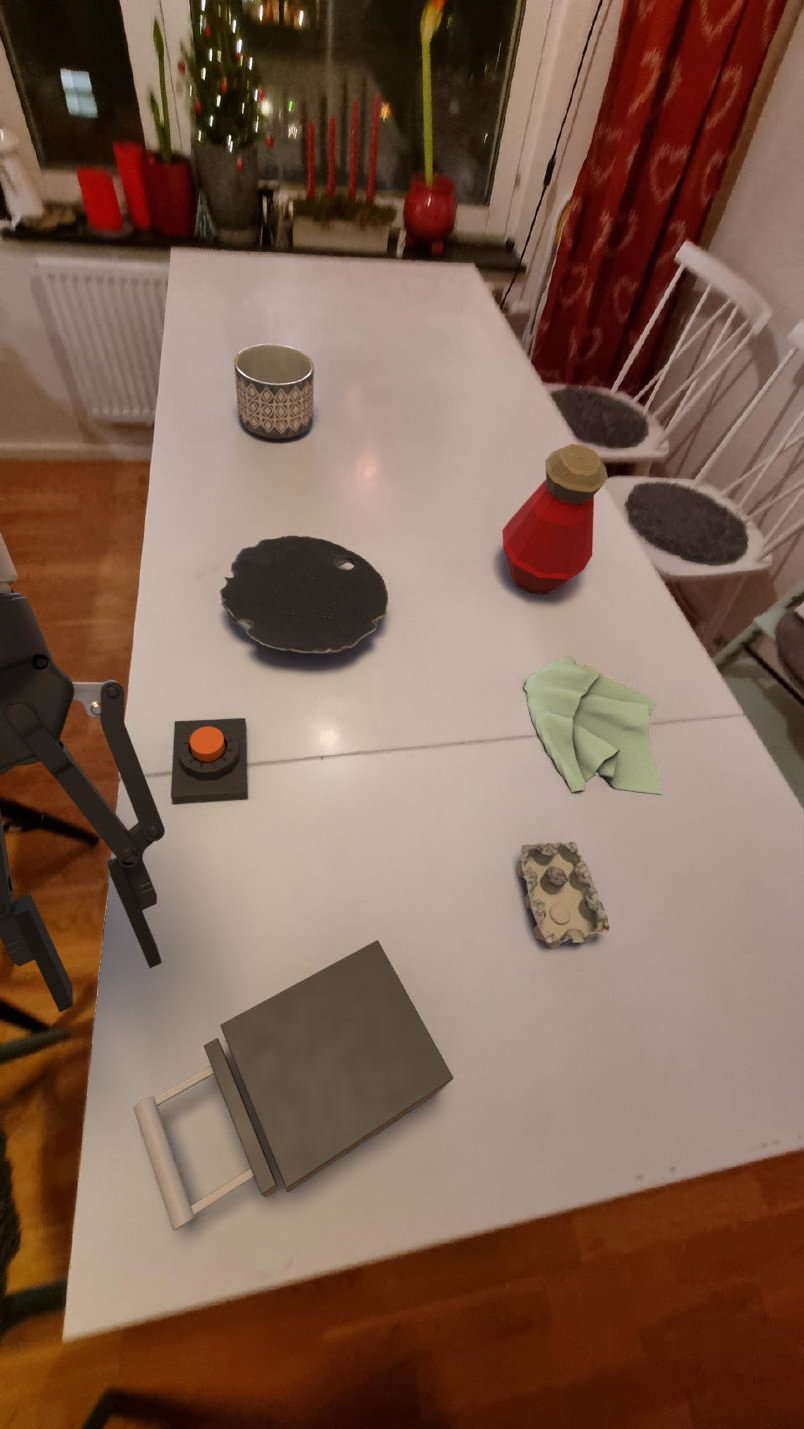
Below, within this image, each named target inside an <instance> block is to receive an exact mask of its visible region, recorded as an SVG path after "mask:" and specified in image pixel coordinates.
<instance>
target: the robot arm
mask: <svg viewBox="0 0 804 1429" xmlns="http://www.w3.org/2000/svg"><path fill="white" fill-rule="evenodd" d="M12 560H13V559H12V557H11V555H10V553H9V550H8V548H7V545H6V543H5V541H4V538H3V535H2V533H1V532H0V777H1V776H3V775H5V774H6V773H7V772H9V771H10V770H12V769H14V768H15V767H22V766H30V765H34V764H37V763H41V764H42V765H43V766H44V768H45V769H46V770H47V771H48V772H49V774H50V775H51V776H53V778H55V780H56V782H58V784H59V785H60V787H61V788H62V789H63V790H64V792H65V793H66V794H67V796H68V797H69V798H70V800H72V802H73V803H74V805H75V806H76V807H77V808H78V809H79V811H80V813H82V815H83V817H84V818H85V819H86V820H87V821H88V823H89V824H90V825H91V827H92V828H93V829H94V830H95V832H96V834H98V836H99V837H100V838H101V839H102V841H103V842H104V843H105V844H106V846H107V847H108V849H109V850H110V852H112V854H113V855H114V856H115V857H114V858H112V859H108V860H107V861H106V862H107V867H108V872H109V876H110V879H111V881H112V883H113V885H114V887H115V889H116V892H117V895H118V897H119V900H120V902H121V904H122V907H123V909H124V912H125V914H126V916H127V919H128V920H129V923H130V926H131V928H132V930H133V932H134V935H135V937H136V939H137V942H138V944H139V947H140V949H141V951H142V954H143V956H144V958H145V961H146V964H147V965H148V968H149V969H152V968H153V969H154V967H157V966H158V965H161V964H162V963H163V961H162V958H161V955H160V952H159V948H158V945H157V943H156V940H155V938H154V935H153V933H152V930H151V928H150V926H149V924H148V921H147V919H146V916H145V913H144V911H145V910H147V909H149V908H151V907H153V906H155V905H157V903H158V894H157V892H156V889H155V887H154V883H153V881H152V878H151V877H150V874H149V871H148V870H147V869H148V868H147V867H146V864H145V862H144V858H143V856H144V853H145V851H146V850H147V849H148V848H149V847H150V846H151V845H152V844H153V843H155V842H158V841H159V840H161V839H162V838H163V837H164V835H165V833H166V832H165V831H166V830H165V825H164V823H163V822H162V821H163V820H162V818H161V815H160V812H159V810H158V808H157V804H156V803H155V799H154V797H153V794H152V792H151V789H150V787H149V784H148V781H147V778H146V776H145V774H144V771H143V769H142V766H141V763H140V761H139V758H138V754H137V753H136V750H135V748H134V744H133V742H132V740H131V737H130V734H129V732H128V729H127V726H126V723H125V689H124V687H123V686H122V685H121V684H120V683H119V682H118V681H116V680H115V679H110V678H109V679H105V680H104V681H101V682H100V681H99V682H98V681H94V682H93V681H73V680H72V679H71V677H70V676H69V675H68V674H67V673H65V672H64V671H63V670H62V669H60V667H58V666H57V664H56V663H55V661H54V659H53V656H52V654H51V651H50V649H49V647H48V645H47V641H46V640H45V637H44V635H43V632H42V630H41V627H40V625H39V623H38V620H37V618H36V615H35V613H34V610H33V608H32V605H31V603H30V601H29V598H28V597H27V596H23V594H22V593H21V592H15V590H14V589H12V588H11V585H13V584H15V583H16V582H17V580H18V578H19V575H18V573H17V570H16V567H15V565H14V563H13V561H12ZM73 701H76V702H80V703H81V704H82V705H83V707H84V710H85V713H86V715H87V716H89V718H92V719H96V720H99V721H100V726H101V730H102V732H103V735H104V737H105V740H106V742H107V745H108V747H109V750H110V752H111V755H112V758H113V760H114V762H115V765H116V768H117V771H118V773H119V776H120V778H121V781H122V783H123V786H124V788H125V790H126V794H127V796H128V798H129V802H130V803H131V806H132V808H133V811H134V813H135V818H136V820H137V823H135V824H134V825H132V827H131V828H129V829H128V828H127V827H126V825H125V824H124V823H123V822H122V820H121V819H120V817H119V816H118V815H117V814H116V812H115V811H114V809H113V808H112V807H111V805H110V804H109V803H108V801H107V800H106V799H105V797H103V795H102V793H101V792H100V791H99V790H98V789H97V787H96V786H95V784H94V783H93V782H92V780H91V778H89V777H88V774H86V772H85V771H84V769H83V768H82V767H81V766H80V765H79V763H78V762H77V760H76V759H75V758H74V756H73V755H72V753H71V751H70V749H68V747H67V746H66V744H64V742H63V741H62V739H61V738H62V734H63V732H64V728H65V725H66V722H67V718H68V716H69V711H70V709H71V706H72V702H73ZM2 817H3V816H2V810H1V809H0V940H1V942H2V944H3V947H4V948H5V950H6V952H7V954H8V957H9V958H10V961H11V962H12V963H13V964H15V965H16V966H17V967H19V968H20V967H22V966H24V965H26V964H28V963H30V962H32V961H35V963H36V965H37V968H38V969H39V972H40V974H41V977H42V979H43V980H44V983H45V985H46V987H47V989H48V991H49V993H50V996H51V997H52V1000H53V1002H54V1004H55V1006H56V1008H57V1010H58V1013H62V1012H64V1011H66V1010H69V1009H71V1008H72V1007H74V991H73V989H74V988H73V983H72V981H71V979H70V977H69V975H68V972H67V970H66V968H65V966H64V964H63V961H62V959H61V958H60V954H59V953H58V950H57V948H56V947H55V944H54V941H53V939H52V938H51V935H50V933H49V931H48V929H47V926H46V924H45V922H44V920H43V918H42V915H41V914H40V911H39V909H38V906H37V905H36V902H35V900H34V898H33V896H32V894H31V893H28V894H25V895H23V896H20V897H18V898H15V895H14V893H15V887H14V886H13V881H12V880H13V879H12V874H11V867H10V862H9V855H8V854H9V853H8V848H7V842H6V836H5V829H4V824H3V818H2Z"/></svg>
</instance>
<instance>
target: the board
mask: <svg viewBox="0 0 804 1429" xmlns="http://www.w3.org/2000/svg"><path fill="white" fill-rule="evenodd" d="M345 564H350V565H352V566H353V567H351V568H349V569H344V568H340V567H341V566H343V565H345ZM230 572H231V573H232V575H233V576H232V577H227V576H225V575H224V576H223V578H224V580H225V586H223V587H222V588H221V589H220V590H219V594H220V599H221V603H220V605H221V606H222V608H223V609H225V611H226V612H227V614H228V616H229V617H230V619H231V620H232V621H233V623H235V624H236V626H238V627H239V628H240V629H242V630H244V631H245V632H246V635H248V637H249V638H251V639H252V640H253V641H255V642H256V643H259V644H260V645H263V646H265V647H267V648H270V649H272V650H277V651H281V652H284V653H288V654H289V653H290V654H298V653H299V654H309V653H310V654H312V653H313V654H338V653H340V652H343V651H345V650H349V649H351V648H353V647H354V646H356V645H357V644H358V643H359V642H360V641H361V639H364V638H365V637H366V636H368V635H369V634H372V633H374V632H375V631H376V629H377V626H378V624H377V622H379V621H381V620H382V619H383V618H385V616H387V614H388V613H387V612H388V611H387V610H388V609H387V608H388V606H389V590H388V589H387V585H386V583H385V579H384V578H383V575H381V574H380V573H379V572H378V571H377V570H376V568H374V567H373V565H372V564H371V563H370V562H369V561H368V560H366V559H365V558H364V557H362V556H361V555H359V554H357V553H356V552H354V551H352V550H349V549H347V548H346V547H344V546H342V545H340V544H338V543H334V542H332V541H331V540H326V539H323V538H318V537H311V536H308V535H305V536H303V535H301V536H299V535H285V536H284V535H282V536H279V537H276V538H265V539H260V541H258V542H257V544H256V545H255V546H247V547H242V549H241V550H240V551H239V553H237V554H236V557H235V559H233V561H232V563H231V567H230Z"/></svg>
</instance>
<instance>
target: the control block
mask: <svg viewBox="0 0 804 1429" xmlns="http://www.w3.org/2000/svg"><path fill="white" fill-rule="evenodd" d="M202 727H214V728H217V729H218V730H220V731H221V733H222V734H223V737H224V743H225V751H224V753H223V755H222V756H221V757H220V758H219V759H217V760H215V761H212V762H202V761H199V760H198V759H196V758H195V757H194V756H193V754H192V750H191V746H190V737H191V735H192V734H193V733H194V732H195V731H196V730H197V729H199V728H202ZM173 728H174V729H173V746H172V764H171V765H172V767H171V787H170V798H171V802H172V805H179V804H181V805H182V804H193V803H195V804H196V803H209V802H211V803H212V802H224V801H238V800H248V798H249V796H248V750H247V749H248V745H247V744H248V743H247V721H246V717H237V718H216V719H215V718H214V719H194V720H193V719H192V720H175V721H174V726H173Z"/></svg>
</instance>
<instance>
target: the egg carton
mask: <svg viewBox="0 0 804 1429" xmlns="http://www.w3.org/2000/svg"><path fill="white" fill-rule="evenodd" d="M520 849H521V850H520V856H521V859H520V861H519V863H518V865H517V866H516V868H515V872H516V875H517V878H520V879H523V880H525V881H526V889H527V894H526V895H525V896H524V898H523V901H524V904H525V907H526V908H528V909H531V912H532V914H533V916H534V920H535V922H536V925H535V927H534V928H533V930H532V932H533V935H534V938H535V939H537V940H540V941H542V942H544V943H545V944H546V945H547V946H548V947H549V948H554V949H556V948H557V949H558V948H559V947H560V946H561V945H562V944H563V943H564V942H567V941H569V940H571V942H572V943H578V944H580V945H583V944H584V945H586V944H588V943H590V942H591V940H593V939H594V938H595V936H596V934H602V933H607V932H609V931H610V924H609V919H608V915H607V913H606V908H605V907H604V905H603V902H602V900H601V901H600V899H599V894H598V890H597V887H595V884H594V881H593V878H592V874H591V871H590V868H589V867H588V865H587V863H586V862H585V861H584V860H583V856H582V855H581V854H580V853H579V851H578V849H579V847H578V845H577V843H576V842H575V841H570V842H567V843H566V842H565V843H563V842H560V841H558V842H555V843H554V842H551V843H550V842H547V843H540V842H539V843H535V844H522V845H521V848H520Z"/></svg>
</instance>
